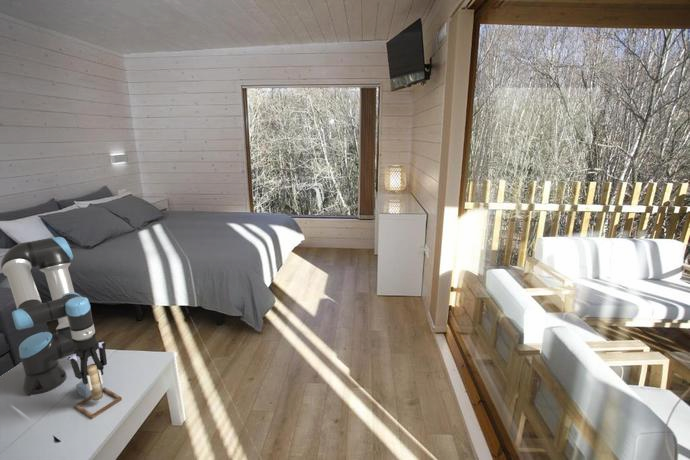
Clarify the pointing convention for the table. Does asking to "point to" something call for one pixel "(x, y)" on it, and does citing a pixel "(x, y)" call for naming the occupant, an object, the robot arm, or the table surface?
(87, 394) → the blue grey open box
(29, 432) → the table surface
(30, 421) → the table surface
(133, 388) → the table surface
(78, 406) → the brown wooden frame
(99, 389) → the pestle
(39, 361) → the robot arm
